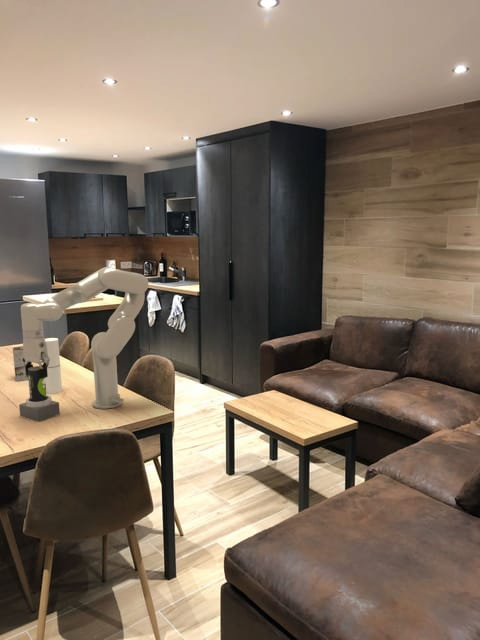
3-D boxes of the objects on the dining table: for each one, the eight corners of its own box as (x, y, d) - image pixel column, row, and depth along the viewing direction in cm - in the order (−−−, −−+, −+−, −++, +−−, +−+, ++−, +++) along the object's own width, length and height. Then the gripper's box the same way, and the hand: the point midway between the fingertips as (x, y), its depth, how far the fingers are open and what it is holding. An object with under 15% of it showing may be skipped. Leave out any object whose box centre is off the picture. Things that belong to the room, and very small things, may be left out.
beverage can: (27, 404, 203) (24, 368, 200) (40, 400, 208) (37, 365, 205) (37, 407, 199) (33, 370, 197) (50, 402, 204) (47, 367, 202)
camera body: (59, 414, 205) (58, 397, 204) (38, 421, 197) (37, 404, 196) (41, 408, 212) (40, 393, 211) (20, 416, 204) (18, 399, 202)
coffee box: (29, 380, 255) (26, 349, 252) (15, 381, 253) (12, 350, 250) (29, 375, 264) (26, 345, 261) (16, 376, 261) (13, 346, 258)
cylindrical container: (56, 394, 232) (52, 341, 227) (42, 393, 233) (38, 341, 229) (65, 389, 238) (61, 338, 234) (51, 388, 240) (47, 337, 236)
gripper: (55, 334, 197) (58, 377, 200) (28, 330, 207) (31, 371, 209) (38, 337, 191) (42, 381, 194) (11, 333, 200) (15, 375, 203)
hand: (36, 376), depth 202 cm, fingers open, 8 cm apart
